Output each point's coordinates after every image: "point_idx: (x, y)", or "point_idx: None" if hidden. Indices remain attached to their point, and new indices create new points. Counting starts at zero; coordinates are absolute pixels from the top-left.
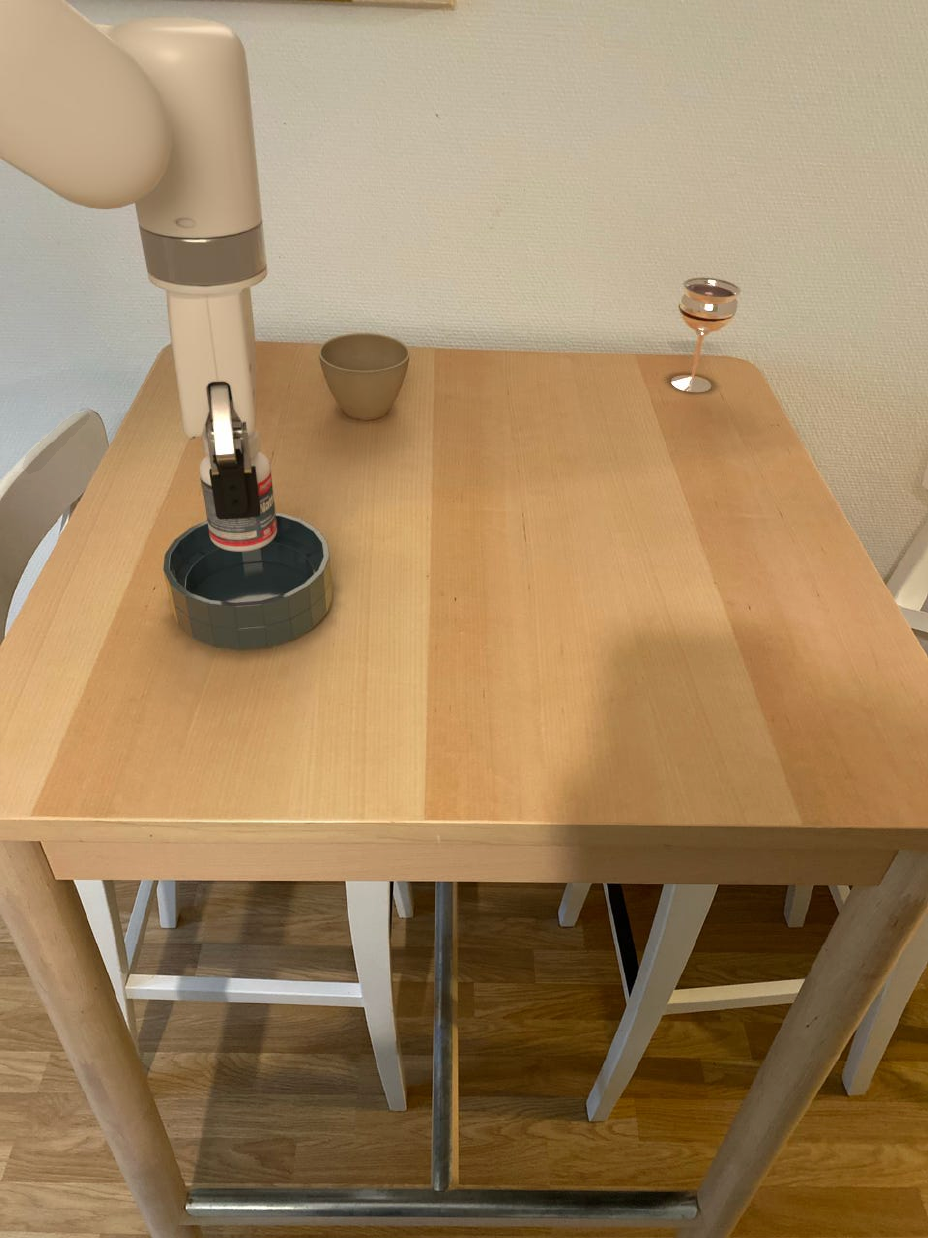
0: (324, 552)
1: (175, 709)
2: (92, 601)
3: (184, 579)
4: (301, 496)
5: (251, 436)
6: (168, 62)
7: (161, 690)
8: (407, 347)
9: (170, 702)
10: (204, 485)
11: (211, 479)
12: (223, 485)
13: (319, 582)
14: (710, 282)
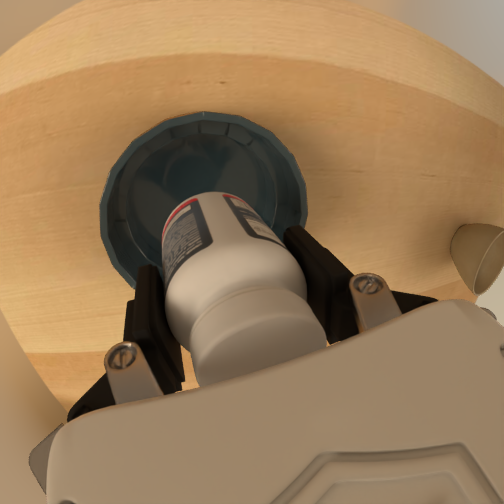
0: None
1: (39, 172)
2: (197, 25)
3: (192, 132)
4: (376, 209)
5: None
6: None
7: (58, 148)
8: (485, 291)
9: (45, 164)
10: (185, 256)
11: (134, 320)
12: (125, 340)
13: None
14: None
